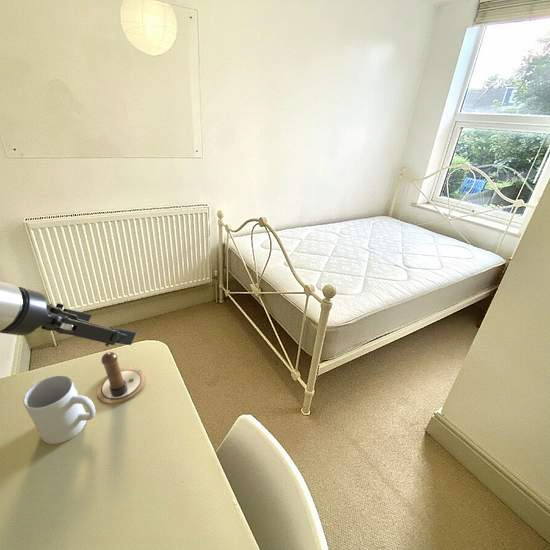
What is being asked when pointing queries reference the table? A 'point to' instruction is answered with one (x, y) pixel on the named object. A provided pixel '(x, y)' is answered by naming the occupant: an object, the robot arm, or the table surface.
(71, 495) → the table surface
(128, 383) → the face mat
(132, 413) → the table surface
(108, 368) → the stamp
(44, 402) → the mug
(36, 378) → the table surface
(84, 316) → the robot arm
